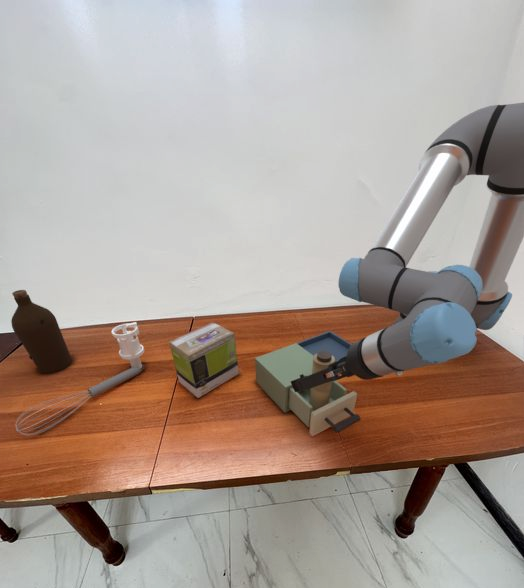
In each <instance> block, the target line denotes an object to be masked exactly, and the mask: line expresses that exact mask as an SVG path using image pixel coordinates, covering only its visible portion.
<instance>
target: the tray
mask: <svg viewBox="0 0 524 588" xmlns="http://www.w3.org/2000/svg"><path fill="white" fill-rule="evenodd" d="M296 343H297V344H298V345H300V346H301V347H302V348H304V349H305V350H306V351H308V352H309V353H310V354H312V355H313V356H314V355H315V354H317V353H318V352H320V351H328V352H330V353H331V354H332V356H334V358H335V362H336V361H339V360H340V359H341V358H343V357H345V356H347V352H348V349H349V347H350V346H351V345H352V344H353V343H351V342H350V341H348V340H347V339H344V337H341V336H340V335H338V334H336V333H335V332H333V331H332V330H328V331H325V332H323V333H320V334H317V335H315V336H311V337H309V338H306V339H304V340H303V339H302V340H301V341H298V342H296Z"/></svg>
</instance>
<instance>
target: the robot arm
mask: <svg viewBox="0 0 524 588" xmlns="http://www.w3.org/2000/svg"><path fill="white" fill-rule="evenodd" d="M472 175H473V176H488V178H487V181H486V184H485V185H486V189H487V190H488V191H489V192H490V193H491V196H490V199H489V202H488V205H487V209H486V211H485V214H484V219H483V222H482V224H481V227H480V231H479V233H478V238H477V240H476V243H475V247H474V250H473V253H472V256H471V259H470V263H469V265H468V266H467V265H464V264H453V265H448V266H445V267H443V268H441V269H440V270H438V271H435V270H433V271H432V270H431V271H430V270H429V271H426V270H421V269H416V268H415V269H414V268H410V267H407V266H408V264H409V263H410V261H411V259H412V258H413V256H414V254H415V253H416V251H417V249H418V248H419V246H420V244H421V243H422V241H423V239H424V237H425V236H426V235H427V233H428V231H429V229H430V227H431V226H432V224H433V223H434V222H435V219H436V218H437V216H438V214H439V212H440V210H441V209H442V207H443V206H444V203H445V202H446V200H447V199H448V197H449V195H450V194H451V193H452V191H453V189H454V187H456V186H457V185H459V184H460V183H461V182H462V181H464V179H465V178H466V177H467V176H472ZM523 240H524V102H518V103H517V102H516V103H509V104H507V103H506V104H494V105H487V106H485V107H482V108H479V109H476V110H474V111H472V112H470V113H469V114H467V115H465V116H463V117H461V118H460V119H459V120H457V121H455V122H454V123H453V124H451V125H450V126H449V127H448V128H446V129H445V130H444V131H443V132H442V133H441V134H440V135H438V136H437V138H435V139H434V141H433V142H431V144H430V145H429V146H428V148H427V149H426V150H425V152H424V154H423V155H422V157H421V159H420V160H419V164H418V172H417V174H416V175H415V177H414V179H413V180H412V182H411V184H410V185H409V187H408V188H407V190H406V192H405V193H404V195H403V196H402V198H401V199H400V201H399V203H398V204H397V205H396V208H395V209H394V211H393V212H392V214H391V215H390V217H389V219H388V221H387V222H386V223H385V225H384V226H383V228H382V230H381V232H380V233H379V235H378V236H377V238H376V240H375V241H374V242H373V244H372V246H371V247H370V249H369V251H367V253H366V255H365V256H364V257H363V258H362V257H351V258H350V259H349V260H346V261H345V263H344V264H343V266H342V268H341V271H340V272H339V276H338V288H339V293H340V294H341V295H342V296H344V297H345V298H346V297H347V298H349V299H350V300H354V301H356V302H358V303H366V304H369V305H372V306H377V307H380V308H384V309H389V310H391V311H394V312H398V313H399V315H398V316H397V318H396V319H395V321H394V323H393V324H392V325H390V326H387V327H384V328H382V329H379V330H378V331H375V332H373V333H371V334H369V335H367V336H366V337H363V338H361V339H358V340H357V341H355V342H353V343H351V344H352V345H351V346H350V347H349V349H348V352H347V356H345V357H343V358H341V359H340V360H339V361H336V362H334V363H331V364H329V366H328V368H326V369H323V370H321V371H318V372H316V373H313V374H311V375H308V376H307V375H306V376H304V375H303V374H302V375H299V376H300V378H298V379H296V380H293V381H291V384H292V386H293V389H294V391H295V392H298V391H300V392H303V391H305V390H307V389H310V388H313V387H316V386H319V385H322V384H324V383H327V382H331V381H339V380H341V379H344V378H350V377H353V376H356V377H357V378H358V379H361V380H365V381H370V380H374V379H375V380H376V379H378V378H383V377H385V376H390V375H393V374H396V376H397V377H400V376H402V375H403V374H404V372H405V371H406V372H407V371H410V370H415V369H418V368H423V367H428V366H431V365H436V364H443V363H446V362H449V361H451V360H453V359H455V358H459V357H462V356H466V355H467V354H469V353H470V352H471V351H472V350H473V349H474V348H475V346H476V344H477V340H478V339H477V338H478V337H477V335H476V334H477V332H478V330H482V331H488V330H491V329H493V328H494V326H495V325H496V324H497V323H498V322H499V320H500V319H501V317H502V315H503V314H504V313H505V310H506V309H507V307H508V306H509V304H510V302H511V300H512V298H513V293H512V292H510V291H509V285H508V282H507V281H506V279H507V277H508V274H509V272H510V269H511V267H512V265H513V262H514V260H515V257H516V256H517V253H518V251H519V249H520V246H521V244H522V242H523ZM477 329H478V330H477Z"/></svg>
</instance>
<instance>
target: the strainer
mask: <svg viewBox="0 0 524 588" xmlns="http://www.w3.org/2000/svg"><path fill="white" fill-rule="evenodd" d="M127 328H133V330H127ZM120 330H122V333H120V334H119V333H117V332H119V331H120ZM138 335H140V330H139V327H138V323H137V321H133V322H130V323H129V322H127V323H122V324H119V325H116V326H114V328H112V329H111V336H112V337H113V338H115V339H116V340H117V344H118V347H119V351H118V355H119V358H121V359H123V360H127V361H129V364H130V367H131V368H132V367H136V366H139V368H140V370H142V369H143V366H141V365H143V364H142V361H141V358H140V357H141V356H143V354H144V353H145V347H144V345H143V344H141V343H140V339H139V337H138ZM134 336H135V337H136V338H134Z"/></svg>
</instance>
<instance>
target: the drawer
mask: <svg viewBox="0 0 524 588" xmlns="http://www.w3.org/2000/svg"><path fill="white" fill-rule="evenodd" d="M309 398H310V389H307V390H305V391H303V392H300V391H298V392H295V391H294V389H293V387H291V388H288V407H289V408H290V409H291V410H290V411H292V412H293V413H294V415H295V416H297V417H298V418H299V419H300V420H301V422H302V423H303V424H305V426H306V427H307V428H309V434H310V436H311V437H314V436H317V435H318V434H320V433H322V432H324V431H325V430H327V429H329V428H331V429H332V432H334V434H338V433H339V432H342V431H344V430H346V429H347V428H349V427H351V426H352V425H354V424H356V423H357V422H359V421H361V416H360V415H359V413H354V412H355V407H356V404H357V403H356V402H357V398H358V392H356V391H355V390H353V391H351V392H348V389H347V388H346V387H344V386H343V385H342V384H341V383H340V382H338V380H336V381H332V385H331V392H330V399H329V404H327V405H325V406H323V407H321V408H319V409H317V410H315V411H313V412H312V408H313V407H312V406H311V405H310V404H309Z"/></svg>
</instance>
